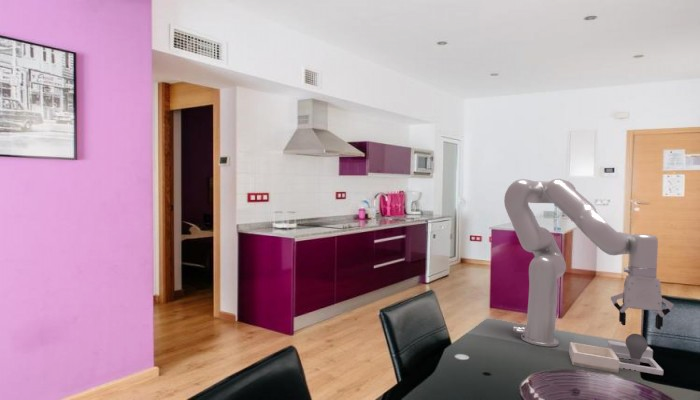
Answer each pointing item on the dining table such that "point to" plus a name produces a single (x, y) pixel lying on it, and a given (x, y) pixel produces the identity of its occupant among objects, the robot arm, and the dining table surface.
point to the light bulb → (636, 347)
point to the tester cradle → (623, 352)
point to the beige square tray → (593, 357)
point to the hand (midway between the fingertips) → (640, 326)
